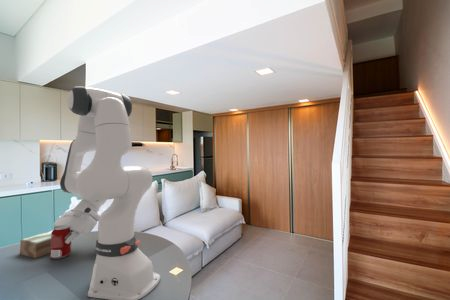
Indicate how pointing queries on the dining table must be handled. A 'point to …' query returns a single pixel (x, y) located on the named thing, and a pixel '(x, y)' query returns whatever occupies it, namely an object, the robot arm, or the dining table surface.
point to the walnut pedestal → (36, 245)
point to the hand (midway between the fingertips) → (59, 241)
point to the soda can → (60, 242)
